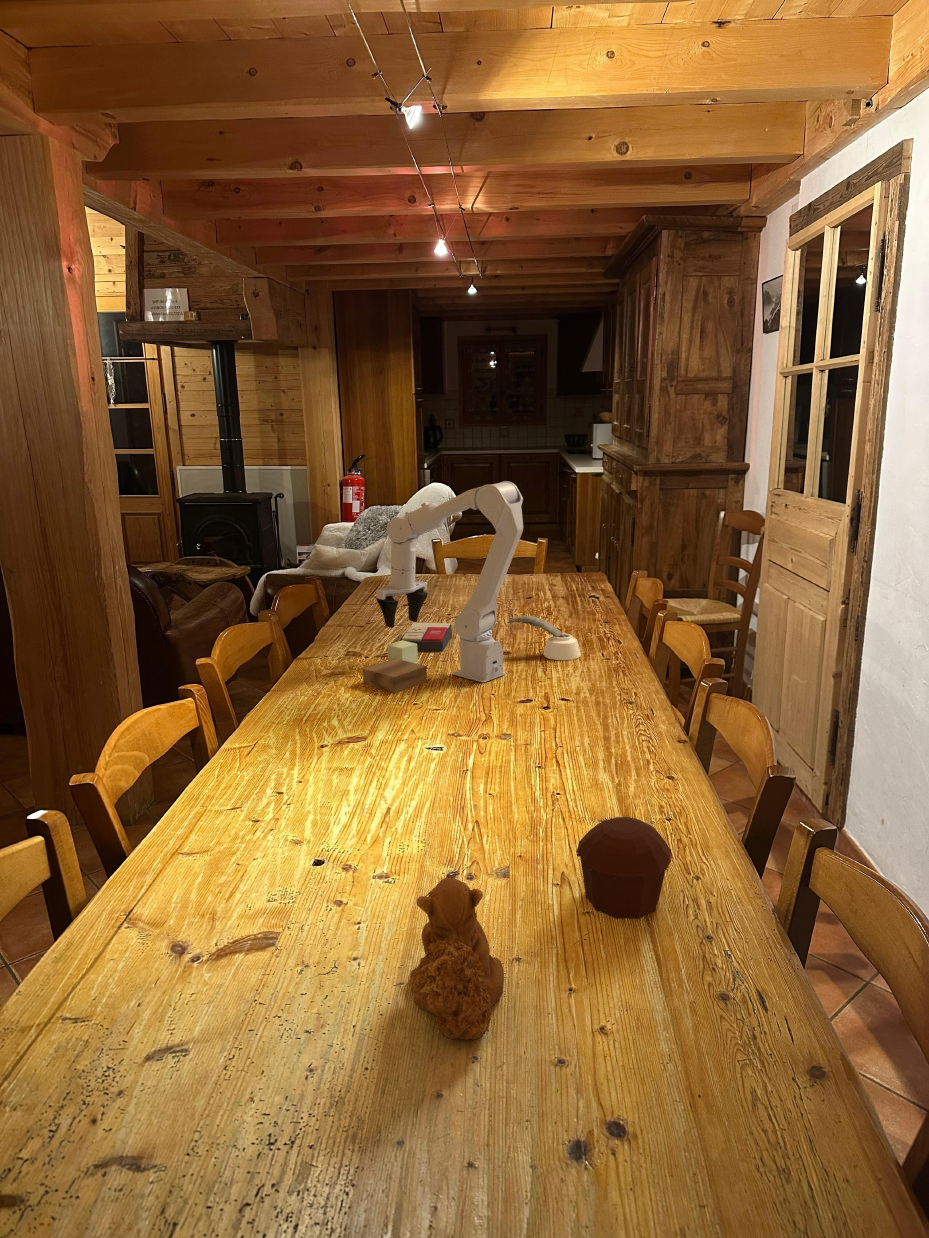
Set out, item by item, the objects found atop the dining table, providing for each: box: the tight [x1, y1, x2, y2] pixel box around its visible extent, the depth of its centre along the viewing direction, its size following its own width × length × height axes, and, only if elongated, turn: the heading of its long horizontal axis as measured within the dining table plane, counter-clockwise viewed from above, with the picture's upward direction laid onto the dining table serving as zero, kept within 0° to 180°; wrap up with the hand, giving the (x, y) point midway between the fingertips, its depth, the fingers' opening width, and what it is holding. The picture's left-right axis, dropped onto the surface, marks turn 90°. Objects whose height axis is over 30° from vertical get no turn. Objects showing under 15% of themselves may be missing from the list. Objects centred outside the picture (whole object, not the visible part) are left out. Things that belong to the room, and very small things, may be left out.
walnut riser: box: [362, 658, 428, 694], centre depth 186 cm, size 10×10×4 cm
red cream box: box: [399, 622, 453, 652], centre depth 217 cm, size 11×4×15 cm
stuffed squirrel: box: [407, 876, 505, 1041], centre depth 83 cm, size 10×14×13 cm
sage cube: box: [386, 640, 419, 664], centre depth 199 cm, size 5×5×5 cm
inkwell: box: [507, 615, 582, 661], centre depth 204 cm, size 9×18×10 cm, turn 91°
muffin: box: [576, 816, 672, 920], centre depth 102 cm, size 12×11×10 cm
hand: (401, 623), depth 198 cm, fingers open, 7 cm apart
